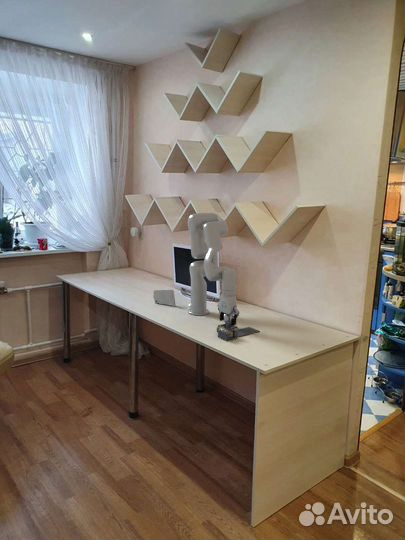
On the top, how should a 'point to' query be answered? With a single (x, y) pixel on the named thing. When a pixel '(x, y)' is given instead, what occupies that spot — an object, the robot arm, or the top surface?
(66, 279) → the top surface
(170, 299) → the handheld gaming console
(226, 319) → the peg
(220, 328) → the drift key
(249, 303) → the top surface
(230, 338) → the socket block
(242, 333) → the mat
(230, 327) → the socket collar
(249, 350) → the top surface
